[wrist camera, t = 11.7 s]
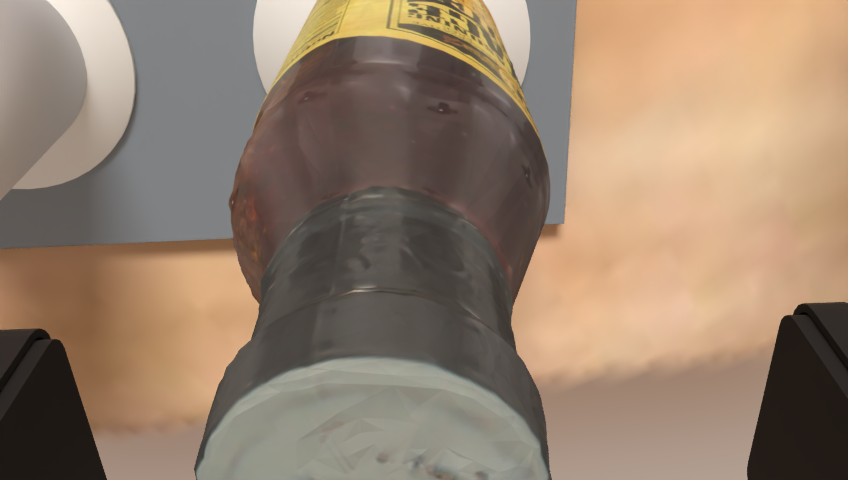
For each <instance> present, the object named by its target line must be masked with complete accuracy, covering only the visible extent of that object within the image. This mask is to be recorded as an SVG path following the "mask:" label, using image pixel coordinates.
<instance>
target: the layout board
mask: <svg viewBox="0 0 848 480" xmlns="http://www.w3.org/2000/svg"><path fill="white" fill-rule="evenodd" d="M316 1H317V0H0V249H8V248H31V247H53V246H75V245H98V244H120V243H142V242H164V241H187V240H209V239H231V238H233V232H232V225H231V211H230V208H229V205H228V204H229V198H230V196H231V193H232V191H233V186H234V180H235V173H236V171H237V168H238V165H239V162H240V158H241V156H242V154H243V152H244V148H245V147H246V144H247V141H248V140H249V139H250V138H251V136H252V133H253V128H254V124H255V121H256V118H257V115H258V113H259V110H260V108H261V106H262V104H263V102H264V100H265V98H266V96H267V94H268V92H269V90H270V88H271V86H272V85H273V82H274V80H275V78H276V77H277V75H278V73H279V71H280V69H281V67H282V65H283V63H284V61H285V59H286V57H287V55H288V53H289V51H290V49H291V47H292V46H293V44H294V42H295V40H296V39H297V37H298V35H299V33H300V31H301V29H302V27H303V25H304V23H305V22H306V20H307V18H308V16H309V14H310V12H311V10H312V9H313V7H314V5H315V3H316ZM483 2H484V3H485V5H486V6H487V8H488V9H489V11H490V13H491V15H492V17H493V19H494V22H495V24H496V26H497V29H498V32H499V34H500V36H501V39H502V41H503V44H504V46H505V49H506V51H507V54H508V56H509V59H510V61H511V62H512V64H513V68H514V70H515V74H516V76H517V78H518V81H519V83H520V86H521V89H522V91H523V94H524V98H525V101H526V104H527V107H528V109H529V111H530V114H531V116H532V119H533V121H534V123H535V125H536V128H537V130H538V134H539V138H540V140H541V143H542V146H543V148H544V152H545V156H546V159H547V163H548V168H549V176H550V183H551V184H550V203H549V209H548V213H547V217H546V220H545V223H544V224H564V214H565V196H566V178H567V161H568V143H569V126H570V108H571V91H572V73H573V56H574V38H575V21H576V3H577V0H483Z"/></svg>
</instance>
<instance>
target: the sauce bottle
mask: <svg viewBox="0 0 848 480" xmlns="http://www.w3.org/2000/svg"><path fill="white" fill-rule="evenodd" d="M550 184H551V183H550V176H549V168H548V163H547V159H546V156H545V152H544V148H543V146H542V143H541V140H540V138H539V134H538V130H537V128H536V125H535V123H534V121H533V119H532V116H531V114H530V111H529V109H528V107H527V104H526V101H525V98H524V94H523V91H522V89H521V86H520V83H519V81H518V78H517V76H516V74H515V70H514V68H513V64H512V62H511V61H510V59H509V56H508V54H507V51H506V49H505V46H504V44H503V41H502V39H501V36H500V34H499V32H498V29H497V26H496V24H495V22H494V19H493V17H492V15H491V13H490V11H489V9H488V8H487V6H486V5H485V3H484V2H483V0H317V1H316V3H315V5H314V7H313V9H312V10H311V12H310V14H309V16H308V18H307V20H306V22H305V23H304V25H303V27H302V29H301V31H300V33H299V35H298V37H297V39H296V40H295V42H294V44H293V46H292V47H291V49H290V51H289V53H288V55H287V57H286V59H285V61H284V63H283V65H282V67H281V69H280V71H279V73H278V75H277V77H276V78H275V80H274V82H273V85H272V86H271V88H270V90H269V92H268V94H267V96H266V98H265V100H264V102H263V104H262V106H261V108H260V110H259V113H258V115H257V118H256V121H255V124H254V128H253V133H252V136H251V138H250V139H249V140H248V141H247V144H246V147H245V148H244V152H243V154H242V156H241V158H240V162H239V165H238V168H237V171H236V173H235V180H234V186H233V191H232V193H231V196H230V198H229V204H228V205H229V208H230V211H231V225H232V232H233V242H234V247H235V249H236V252H237V256H238V261H239V264H240V267H241V270H242V273H243V275H244V277H245V279H246V282H247V283H248V285H249V287H250V289H251V292H252V295H253V296H254V298H255V299H256V300H257V302H258V303H259V304H260V305H259V315H258V319H257V322H256V325H255V329H254V332H253V335H252V338H251V341H249V342H248V343H247V344H246V345H245V346H243V347H242V348H241V349H240V350H239V351H238V353H237V355H236V357H235V358H234V360H233V361H232V362H231V363H230V364H229V365H228V366H227V367H226V370H225V373H224V377H223V379H222V380H221V382H220V383H219V385H218V388H217V392H216V395H215V398H214V401H213V404H212V407H211V410H210V413H209V416H208V420H207V424H206V428H205V432H204V436H203V440H202V442H201V445H200V449H199V453H198V456H197V460H196V464H195V468H194V470H195V475H196V480H552V479H551V474H550V470H549V453H548V445H547V438H546V437H547V436H546V435H547V434H546V433H547V432H546V421H545V416H544V411H543V407H542V402H541V398H540V394H539V391H538V389H537V387H536V385H535V383H534V381H533V379H532V377H531V375H530V373H529V371H528V369H527V368H526V366H525V364H524V362H523V361H522V359H521V358H520V357H519V355H518V354H517V351H516V346H515V340H514V335H513V331H512V328H511V315H512V309H513V305H514V302H515V299H516V297H517V294H518V292H519V289H520V286H521V284H522V281H523V278H524V276H525V273H526V270H527V268H528V265H529V262H530V260H531V257H532V254H533V252H534V249H535V246H536V244H537V241H538V238H539V236H540V233H541V230H542V228H543V226H544V223H545V220H546V217H547V213H548V209H549V203H550Z"/></svg>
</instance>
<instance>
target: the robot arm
mask: <svg viewBox="0 0 848 480" xmlns="http://www.w3.org/2000/svg"><path fill="white" fill-rule="evenodd" d="M747 477H748V480H848V303H846V302H834V303H804V304H800V305H798V307H797V308H796V309H795V311H794V314H793V315H787V316H784V317H783V319H782V320H781V323H780V326H779V330H778V335H777V339H776V343H775V348H774V352H773V356H772V361H771V365H770V370H769V374H768V378H767V382H766V387H765V391H764V396H763V401H762V404H761V409H760V413H759V417H758V422H757V426H756V430H755V435H754V439H753V443H752V448H751V452H750V456H749V461H748V467H747ZM0 480H107V478H106V475H105V472H104V469H103V466H102V463H101V460H100V457H99V453H98V451H97V447H96V444H95V441H94V438H93V435H92V432H91V429H90V426H89V422H88V419H87V416H86V413H85V410H84V407H83V404H82V401H81V398H80V395H79V392H78V388H77V385H76V382H75V379H74V376H73V373H72V370H71V367H70V364H69V361H68V357H67V354H66V351H65V348H64V346H63V344H62V343H61V342H60V340H57V339H51V338H50V336H49V334H48V333H47V332H46V331H45V330H43V329H14V330H0Z"/></svg>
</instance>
